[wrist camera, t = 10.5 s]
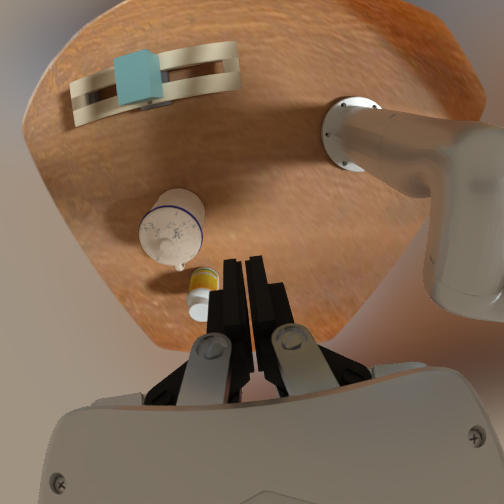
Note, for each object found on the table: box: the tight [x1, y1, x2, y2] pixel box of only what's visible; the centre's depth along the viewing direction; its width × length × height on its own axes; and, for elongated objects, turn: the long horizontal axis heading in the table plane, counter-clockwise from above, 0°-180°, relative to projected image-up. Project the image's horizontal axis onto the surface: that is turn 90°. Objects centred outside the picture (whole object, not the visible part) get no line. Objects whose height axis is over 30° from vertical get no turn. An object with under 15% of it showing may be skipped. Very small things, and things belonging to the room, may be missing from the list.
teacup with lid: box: [139, 188, 205, 271], centre depth 40 cm, size 12×9×12 cm
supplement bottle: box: [187, 267, 219, 322], centre depth 47 cm, size 5×5×10 cm
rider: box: [113, 49, 164, 106], centre depth 27 cm, size 4×6×8 cm, turn 5°
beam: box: [69, 41, 242, 127], centre depth 31 cm, size 24×8×5 cm, turn 95°
